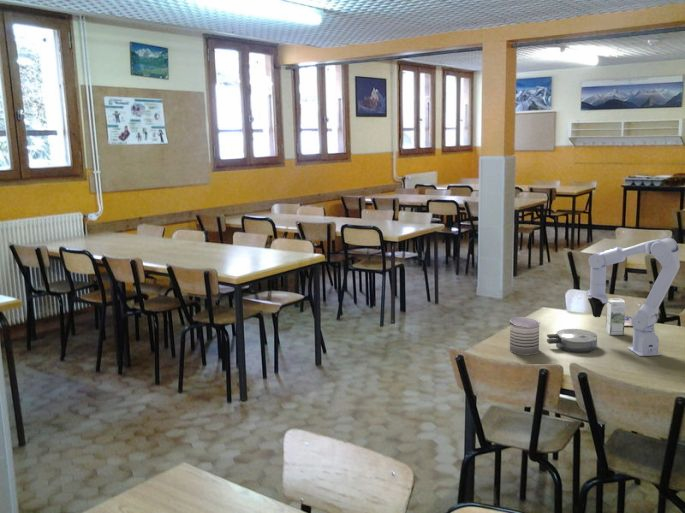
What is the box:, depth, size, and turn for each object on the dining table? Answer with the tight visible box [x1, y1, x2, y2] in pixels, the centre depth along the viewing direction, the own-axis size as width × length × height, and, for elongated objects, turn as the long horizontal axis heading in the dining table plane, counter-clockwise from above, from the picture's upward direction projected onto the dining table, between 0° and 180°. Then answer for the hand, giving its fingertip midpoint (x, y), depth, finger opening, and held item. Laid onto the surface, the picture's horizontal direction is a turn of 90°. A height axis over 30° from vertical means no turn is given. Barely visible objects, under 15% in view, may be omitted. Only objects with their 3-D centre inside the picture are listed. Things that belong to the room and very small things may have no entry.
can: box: [508, 316, 541, 356], centre depth 252 cm, size 11×11×12 cm
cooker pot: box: [546, 338, 598, 354], centre depth 254 cm, size 15×19×4 cm
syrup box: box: [605, 298, 627, 336], centre depth 268 cm, size 6×6×14 cm
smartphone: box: [624, 316, 634, 328], centre depth 285 cm, size 7×1×15 cm
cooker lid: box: [546, 328, 598, 343], centre depth 254 cm, size 15×19×1 cm
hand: (596, 316), depth 258 cm, fingers closed
